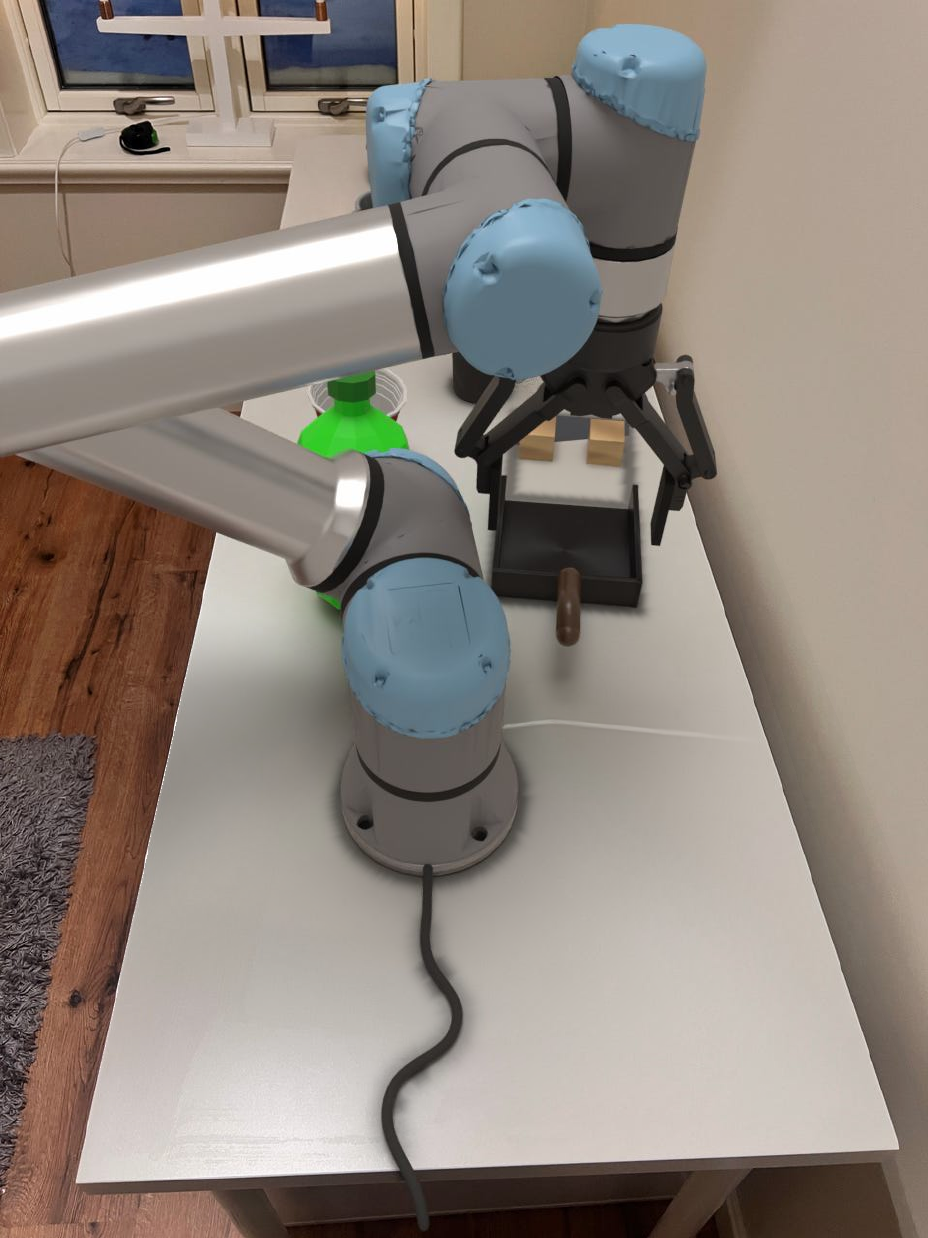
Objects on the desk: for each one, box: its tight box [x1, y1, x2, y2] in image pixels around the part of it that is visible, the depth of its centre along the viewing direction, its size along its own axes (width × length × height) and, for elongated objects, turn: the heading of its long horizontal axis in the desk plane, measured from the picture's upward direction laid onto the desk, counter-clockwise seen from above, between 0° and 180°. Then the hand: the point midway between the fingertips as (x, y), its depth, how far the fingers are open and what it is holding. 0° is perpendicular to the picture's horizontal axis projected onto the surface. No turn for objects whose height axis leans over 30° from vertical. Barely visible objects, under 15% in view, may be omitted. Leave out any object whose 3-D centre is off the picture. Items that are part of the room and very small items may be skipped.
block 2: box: [585, 418, 626, 468], centre depth 112 cm, size 4×4×4 cm
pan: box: [490, 474, 643, 647], centre depth 96 cm, size 26×15×8 cm, turn 175°
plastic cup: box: [306, 368, 408, 422], centre depth 106 cm, size 11×11×12 cm
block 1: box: [518, 416, 556, 463], centre depth 112 cm, size 4×4×4 cm
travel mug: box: [451, 352, 495, 404], centre depth 115 cm, size 8×8×20 cm
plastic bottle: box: [296, 371, 411, 611], centre depth 89 cm, size 10×10×25 cm
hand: (573, 527), depth 80 cm, fingers open, 13 cm apart
